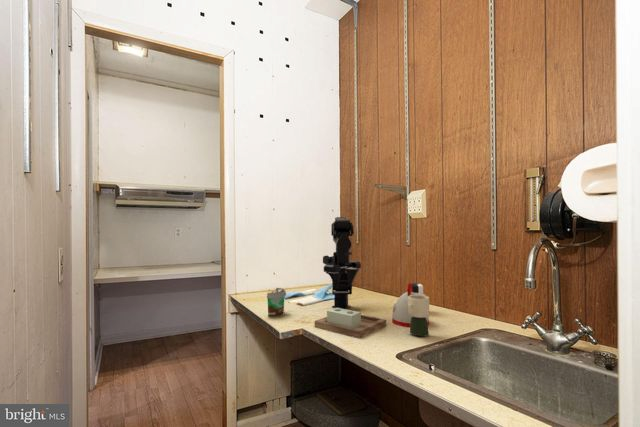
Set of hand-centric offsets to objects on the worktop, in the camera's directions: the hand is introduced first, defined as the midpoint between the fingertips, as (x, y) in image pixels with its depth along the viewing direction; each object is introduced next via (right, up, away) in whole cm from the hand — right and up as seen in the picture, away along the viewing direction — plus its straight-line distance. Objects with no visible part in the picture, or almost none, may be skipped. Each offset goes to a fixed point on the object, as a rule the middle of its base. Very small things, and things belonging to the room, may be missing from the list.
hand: (343, 287), depth 141 cm
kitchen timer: (+26, -12, -9) cm, 30 cm away
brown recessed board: (+2, -12, -14) cm, 18 cm away
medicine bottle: (+32, -12, +6) cm, 35 cm away
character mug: (+25, -11, -24) cm, 36 cm away
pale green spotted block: (-1, -10, -17) cm, 20 cm away
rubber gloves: (-15, -14, +39) cm, 44 cm away
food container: (-27, -13, +5) cm, 30 cm away
